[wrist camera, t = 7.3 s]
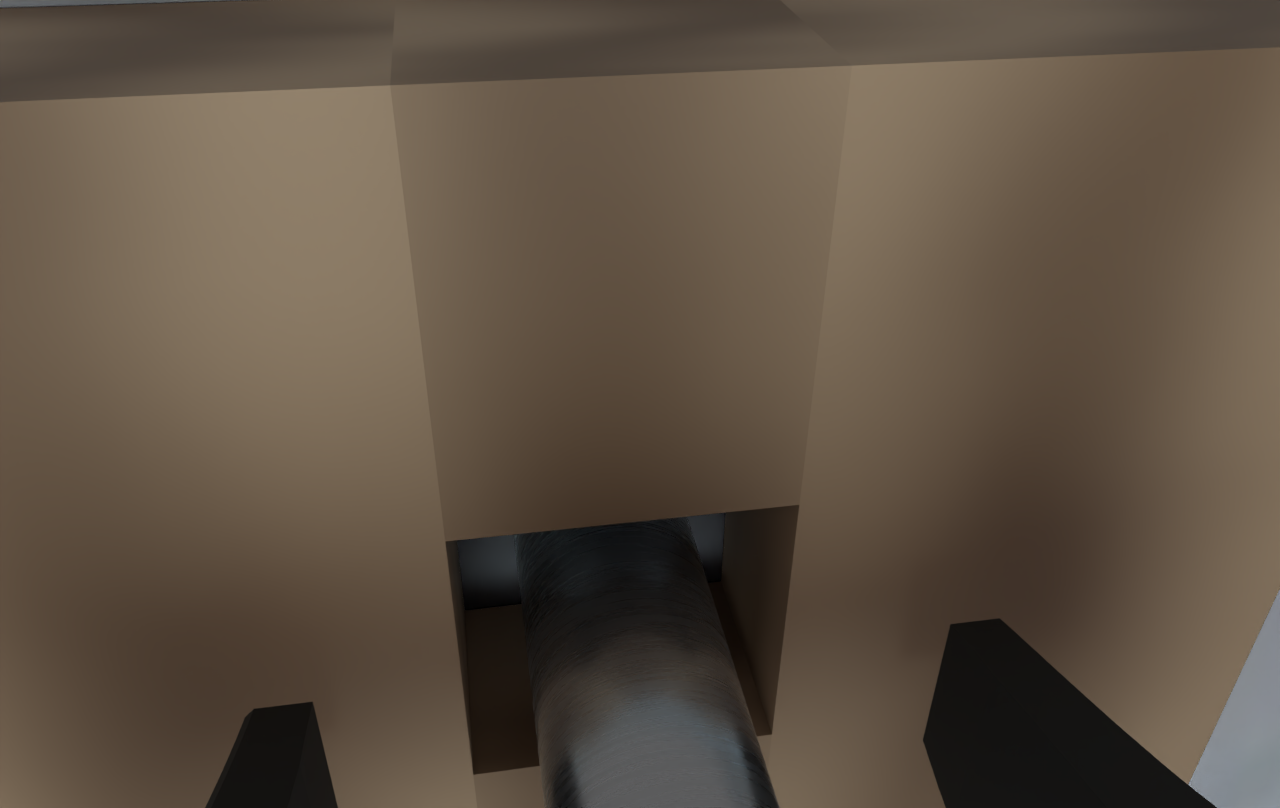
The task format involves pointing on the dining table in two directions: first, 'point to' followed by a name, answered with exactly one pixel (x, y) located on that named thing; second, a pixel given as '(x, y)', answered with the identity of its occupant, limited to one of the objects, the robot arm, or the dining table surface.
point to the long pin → (633, 673)
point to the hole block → (624, 366)
